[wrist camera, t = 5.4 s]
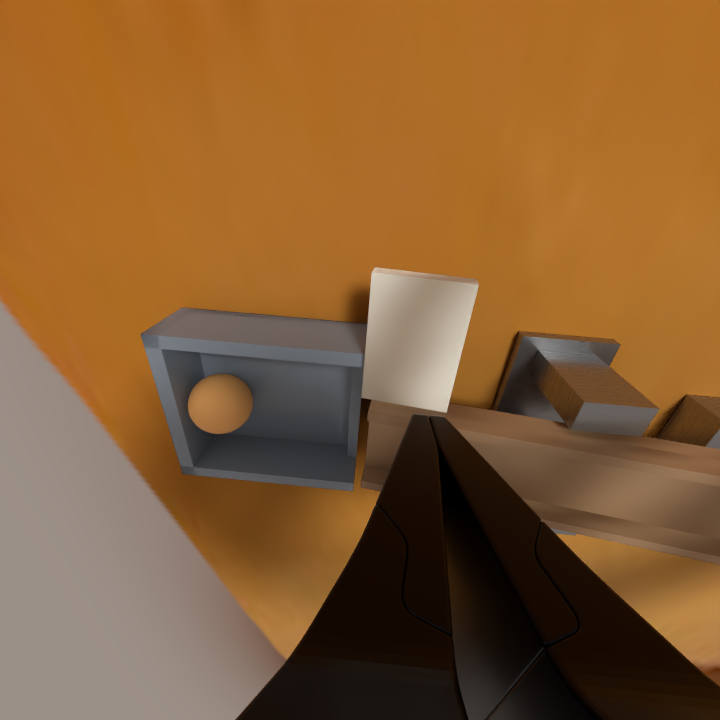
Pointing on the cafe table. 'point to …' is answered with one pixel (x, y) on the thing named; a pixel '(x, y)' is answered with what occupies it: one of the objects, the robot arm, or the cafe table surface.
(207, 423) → the ball
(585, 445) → the lever
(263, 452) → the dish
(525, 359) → the stand
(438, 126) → the cafe table surface
